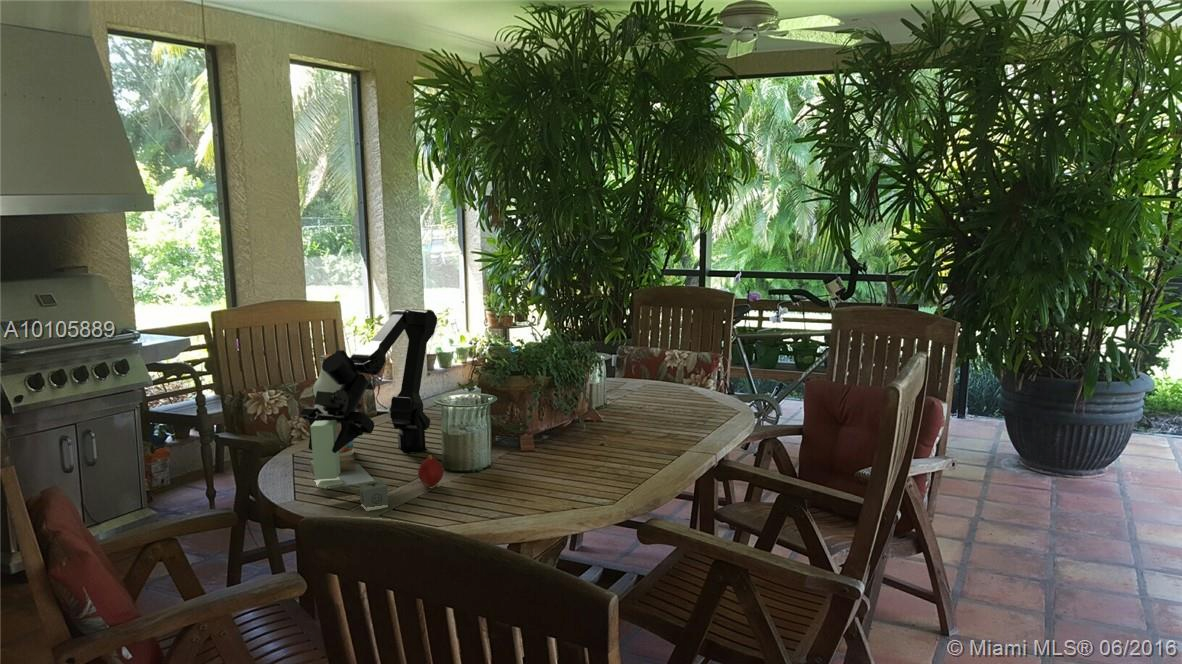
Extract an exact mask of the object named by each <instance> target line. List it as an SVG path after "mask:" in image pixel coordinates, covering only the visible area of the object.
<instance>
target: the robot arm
mask: <svg viewBox="0 0 1182 664" xmlns="http://www.w3.org/2000/svg"><path fill="white" fill-rule="evenodd" d="M437 323H438V317H437V315H436V314H435V311H434V310H432V309H414V308H412V309H403V308H400V309H399V308H398V309H397V308H396V309H394V310H393V311H391V313H390V317H389V318H388V319H387V321H386V322H385V323H384V325H383V326H382V327H381V328H380V329H379V330H378V332H377V333H376V334H375V336H374V337H373V338H372V339H371V341H369V342H368V343H367V344H364V345H362V346H360V347H359V348H358V349H357V350H355V352H353V353H352V355H351V356H348V354H347V352H346V351H345V350H344V349H337V350H335V352H334V353H331V354H332V355H330V356H329V357H328V358H327V359H325V360H324V361H323V364H322V369H323V370H324V371H325V373H326V374H327V375H328V376H329V377H330V378H331V379H332V380H333V381H334V382H335V383H336V384H338V385H341V387H340V389H339V390H337V391H336V392H333V393H332V392H323V391H317V393H316V397H315V396H314V397H315V398H314V401H313V405H314V406H315V405H317V404H318V405H321V406H324V407H323V409H324V410H325V411H327V412H328V413H327V414H323V413H322V412H321V411H320V410H319V409H318V408H314V407H311V406H310V407H309V406H307V407H304V408H302V410H301V412H300V414H299V417H300V418H302V420H304V421H305V422H306V423H307V424H308V425H309V426H311V425H312V424H313V423H314V422H315V421H324V420H337V423H338V424H341V431H340V433H339V435H338V437H337V439H336V442H335V444H334V446H333V449H332V452H333V453H336V452H337V451H339V450H340V449H341V448H343V447H344V446H345V445H346V444H348V443H349V442H351V441H352V440H353V441H354V440H355V439H356V438H358V437H359V436H360V437H361V436H363V435H364V434H369V435H371V434H372V433H373V431H374V428H375V422H374V421H373V419H372V418H371V417H370V416H369V415H368V414H367V413H366V412H365V411H356V410H361V408H362V404H361V403H360V402H361V400H362V398H363V396H364V394H365V392H366V390H367V391H368V390H370V391H371V390H372V391H373V390H374V385H373V383H372V379H371V378H367V377H366V376H365V375H370V376H377V375H378V374H379V373H381V371H382V369H383V368H384V365H385V364H386V362H387V353H388V352H389V350H390V349H391V348H392V346H394V344H395V343H396V341H397V340H398V338H399V337H400V336H401V335H402V334H403V332H404V331H405V333H406V336H407V338H408V344H407V349H406V356H405V362H404V367H403V368H404V369H403V374H402V375H403V376H402V381H401V388H400V392H399V393H398V394H397V395H396V396H392V397H391V402H390V403H391V404H390V407H389V410H388V411H389V414H390V415H389V418H390V419H391V421H392V422H391V423H392V426H393V428H394V430H397V429H398V430H399V434H397V446H398V449H399V450H400V451H402V453H403V454H405V453H409V454H413V453H412V452H415V453H419V451H421V452H427V451H428V450H429V449H428V447H426V430H428V429H429V428H430V426H431V425H430V424H431V419H430V418H429V417H428V415H427V414H425V412H424V402H423V399H422V398H421V396H420V390H421V385H422V378H423V371H424V365H425V364H424V363H425V359H426V350H427V344H428V342H429V340H430V339H431V338H432V337H433V336H434V334H435V330H436V328H437ZM309 428H310V432H309V442H308V450H310V451H312V440H311V427H309ZM426 450H427V451H426Z"/></svg>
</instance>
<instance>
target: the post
mask: <svg viewBox="0 0 1182 664" xmlns="http://www.w3.org/2000/svg"><path fill="white" fill-rule="evenodd" d="M309 426H310V425H309ZM310 427H311V440H312V450H311V452H312V461H313V466H314V479H315V480H320V479H336V478H337V477H338V475H339V473H340V460H339V451H337V452H336V453H333V452H332V449H333V446H334V444H335V442H336V439H337V437H338V433H337V420H324V421H315V422H314V423H313V424H312V425H311V426H310ZM310 427H309V428H310Z"/></svg>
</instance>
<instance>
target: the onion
mask: <svg viewBox="0 0 1182 664" xmlns="http://www.w3.org/2000/svg"><path fill="white" fill-rule="evenodd" d="M417 475H418V479H419V480H420V482H422V484H424V485H425V486H427V487H428V488H430V487H433V486H434V487H436V486H437V484H439V483H440V481H441V480H442V478H443V476H444V469H443V466H442V464H441V463H440V462H439V461H438V460H437V459H436V458H434V457H433V455H431V454H429V455H428V456H427V458H426V459H424V460H423V461H422V462H421V464H420V465H419V468H418V470H417ZM434 487H433V488H434Z"/></svg>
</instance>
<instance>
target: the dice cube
mask: <svg viewBox="0 0 1182 664" xmlns="http://www.w3.org/2000/svg"><path fill="white" fill-rule="evenodd" d="M358 485H359V487H358V488H359V499H360V500H359V502H361V503H362V504H363V505H364V506H365V507H366V508H367V507H375V506H382V505H389V490H388V489H389V488H388V487H389V486H388V485H387V484H386V482H384V481H383V480H382V479H380V480H375V481H371V482H365V483H359V484H358Z"/></svg>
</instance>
